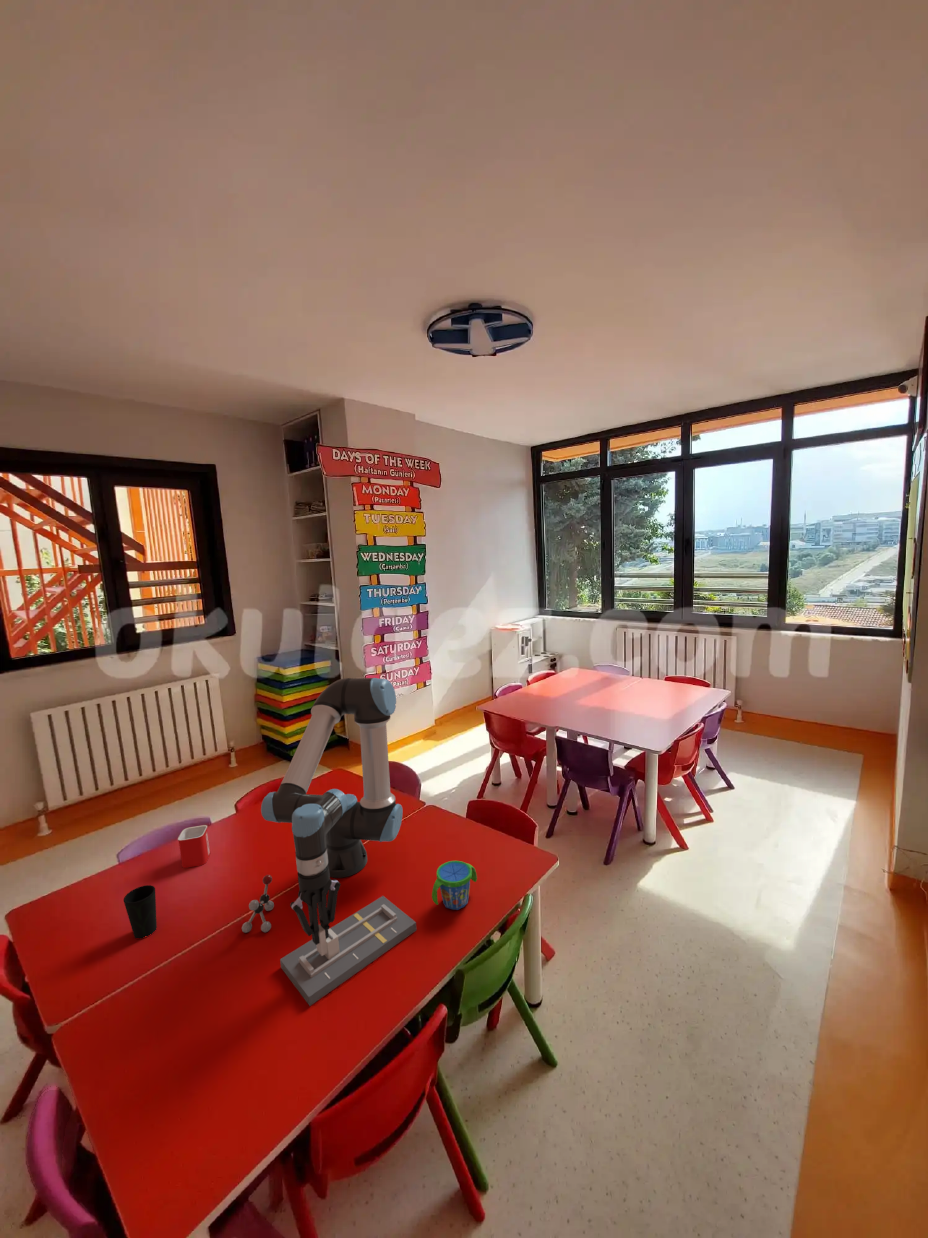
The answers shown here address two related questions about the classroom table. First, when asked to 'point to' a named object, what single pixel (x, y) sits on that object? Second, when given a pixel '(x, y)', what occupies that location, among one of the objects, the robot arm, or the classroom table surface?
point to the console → (348, 949)
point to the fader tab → (332, 945)
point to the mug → (194, 846)
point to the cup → (141, 910)
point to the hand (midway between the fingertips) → (322, 951)
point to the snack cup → (454, 884)
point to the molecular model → (260, 908)
